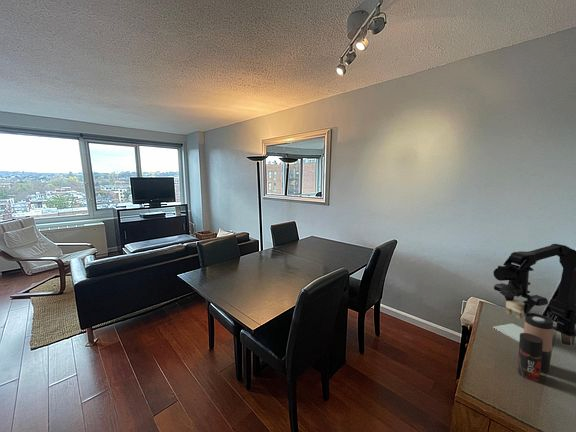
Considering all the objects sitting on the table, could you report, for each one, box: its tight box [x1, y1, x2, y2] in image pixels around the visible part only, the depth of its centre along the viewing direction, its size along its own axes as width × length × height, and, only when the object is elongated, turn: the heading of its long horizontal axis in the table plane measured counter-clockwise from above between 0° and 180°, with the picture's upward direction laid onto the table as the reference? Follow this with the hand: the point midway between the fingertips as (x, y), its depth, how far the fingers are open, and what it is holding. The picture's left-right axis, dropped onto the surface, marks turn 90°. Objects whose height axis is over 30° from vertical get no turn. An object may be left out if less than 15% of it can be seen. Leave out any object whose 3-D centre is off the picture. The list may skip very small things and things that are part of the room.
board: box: [492, 323, 524, 343], centre depth 113 cm, size 12×12×1 cm
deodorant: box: [517, 333, 543, 382], centre depth 87 cm, size 6×6×15 cm
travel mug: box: [523, 312, 554, 373], centre depth 91 cm, size 8×8×20 cm
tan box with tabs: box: [505, 299, 531, 320], centre depth 112 cm, size 6×6×6 cm
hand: (517, 310), depth 112 cm, fingers closed on tan box with tabs, 6 cm apart
